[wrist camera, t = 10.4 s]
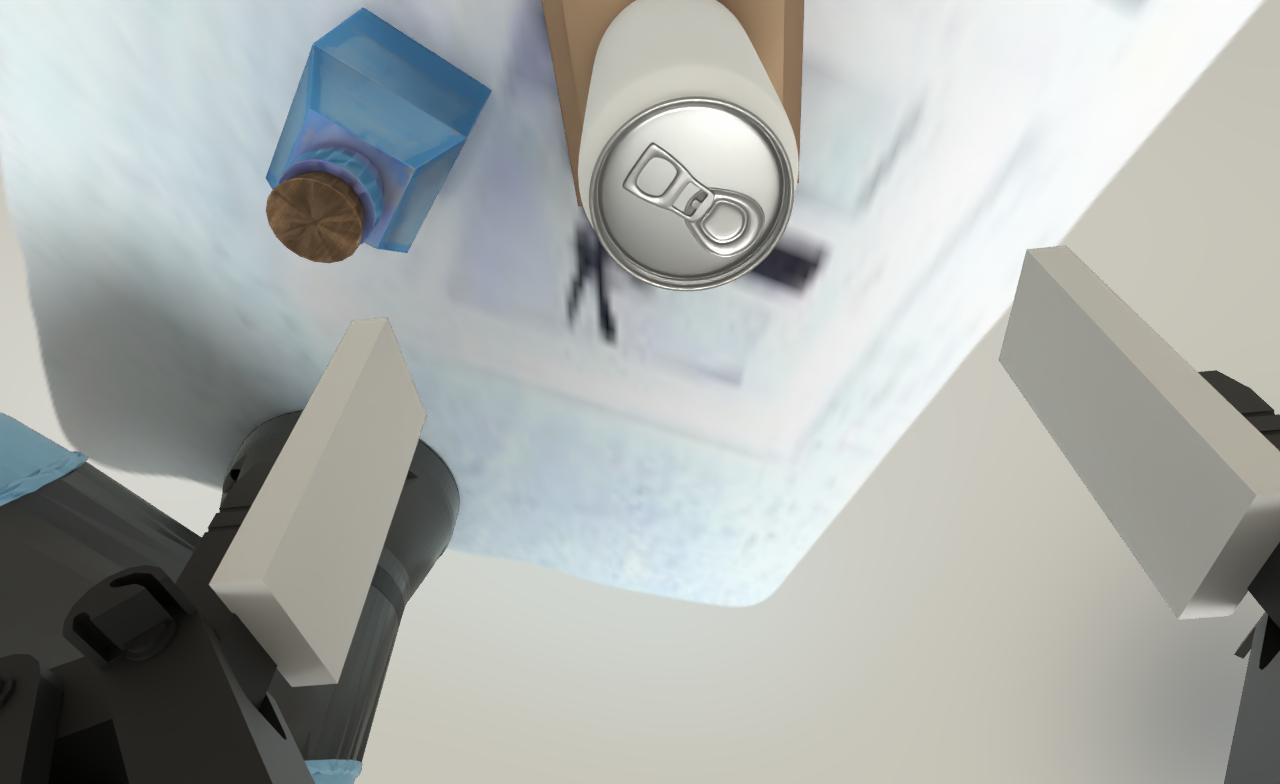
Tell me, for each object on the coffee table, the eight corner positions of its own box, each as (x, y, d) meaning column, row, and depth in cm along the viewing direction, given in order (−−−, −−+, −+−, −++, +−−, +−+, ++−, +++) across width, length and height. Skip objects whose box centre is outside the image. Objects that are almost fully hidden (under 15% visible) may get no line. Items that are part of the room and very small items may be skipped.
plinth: (583, 171, 36) (577, 209, 32) (544, -62, 29) (532, -45, 26) (784, 149, 35) (799, 185, 32) (788, -94, 29) (808, -82, 25)
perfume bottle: (363, 7, 31) (246, 92, 22) (491, 90, 33) (435, 199, 24) (317, 126, 34) (198, 244, 25) (437, 194, 36) (368, 326, 27)
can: (689, 183, 32) (712, 338, 22) (563, 98, 29) (529, 232, 20) (787, 53, 28) (861, 173, 19) (653, -54, 26) (663, 22, 17)
